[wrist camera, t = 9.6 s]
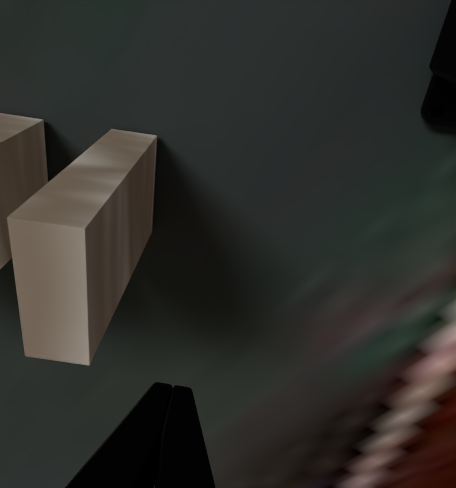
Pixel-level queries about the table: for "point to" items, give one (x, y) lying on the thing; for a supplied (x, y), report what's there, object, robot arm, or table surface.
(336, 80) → the table surface
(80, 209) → the domino
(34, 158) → the domino
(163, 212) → the table surface
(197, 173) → the table surface
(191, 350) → the table surface
